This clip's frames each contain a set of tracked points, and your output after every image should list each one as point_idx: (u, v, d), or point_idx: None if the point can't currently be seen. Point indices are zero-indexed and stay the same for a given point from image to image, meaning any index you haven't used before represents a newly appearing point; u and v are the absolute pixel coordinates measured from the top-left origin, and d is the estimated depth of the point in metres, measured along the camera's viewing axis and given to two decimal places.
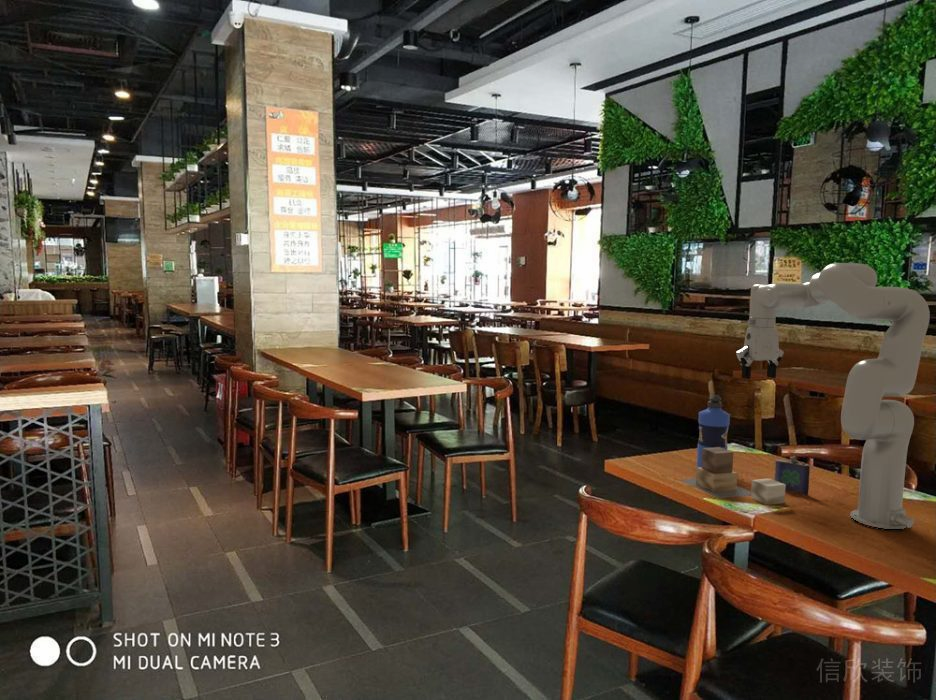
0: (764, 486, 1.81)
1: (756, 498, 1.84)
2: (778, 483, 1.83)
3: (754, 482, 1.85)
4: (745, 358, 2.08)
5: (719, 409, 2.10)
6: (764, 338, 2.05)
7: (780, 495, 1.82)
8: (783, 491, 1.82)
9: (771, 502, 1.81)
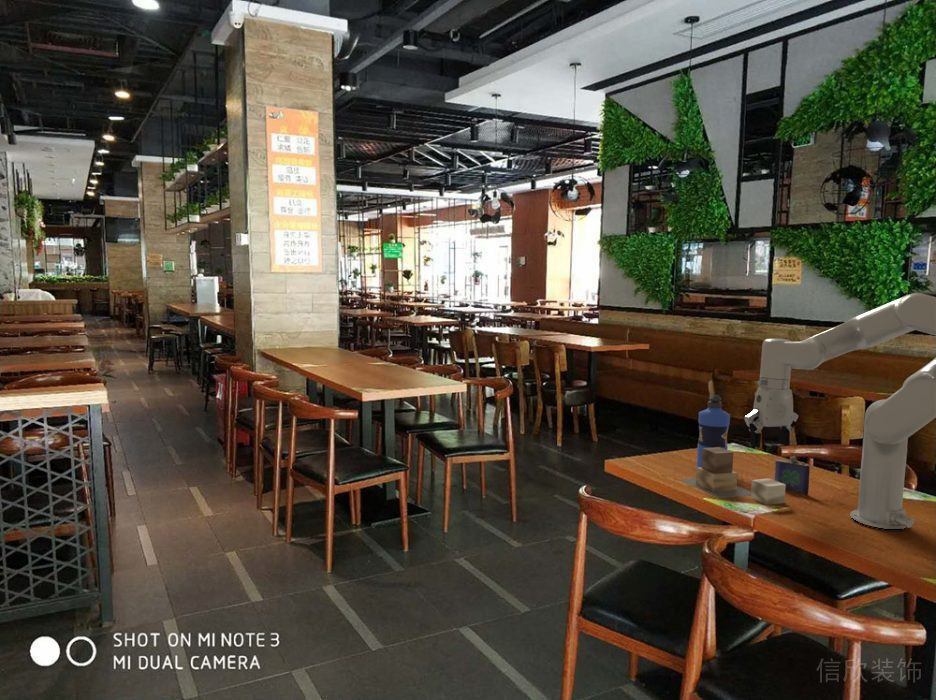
0: (764, 486, 1.81)
1: (756, 498, 1.84)
2: (778, 483, 1.83)
3: (754, 482, 1.85)
4: (754, 423, 1.81)
5: (719, 409, 2.10)
6: (777, 401, 1.78)
7: (780, 495, 1.82)
8: (783, 491, 1.82)
9: (771, 502, 1.81)
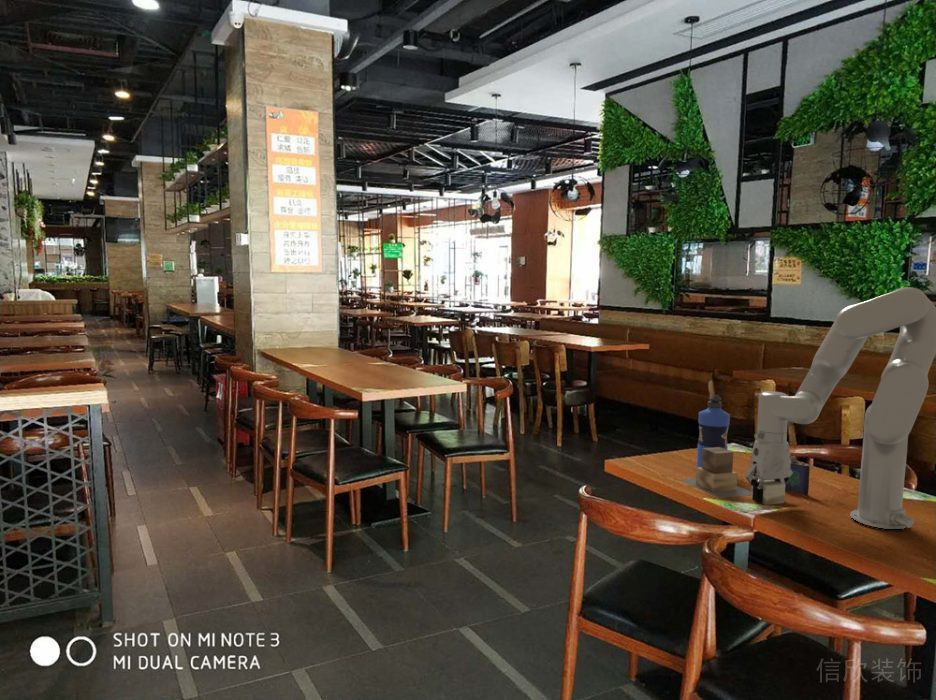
0: (764, 486, 1.81)
1: None
2: (778, 483, 1.83)
3: None
4: (755, 478, 1.83)
5: (719, 409, 2.10)
6: (774, 455, 1.80)
7: (780, 495, 1.82)
8: (783, 491, 1.82)
9: (770, 502, 1.81)
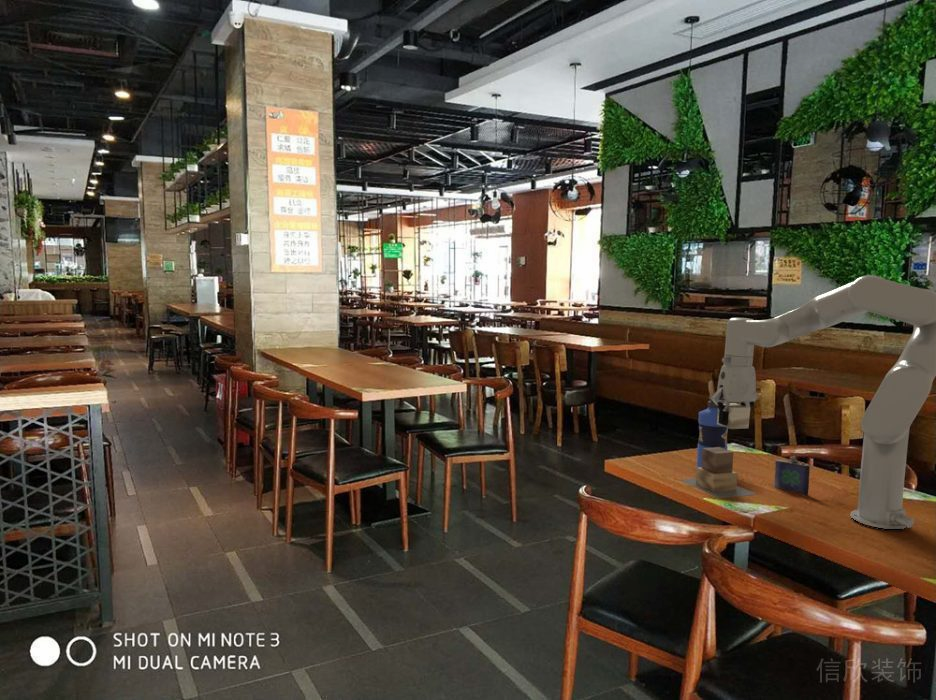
0: (729, 408, 1.87)
1: None
2: (743, 406, 1.89)
3: None
4: (721, 401, 1.89)
5: None
6: (740, 378, 1.86)
7: (745, 417, 1.88)
8: (748, 414, 1.88)
9: (735, 424, 1.87)
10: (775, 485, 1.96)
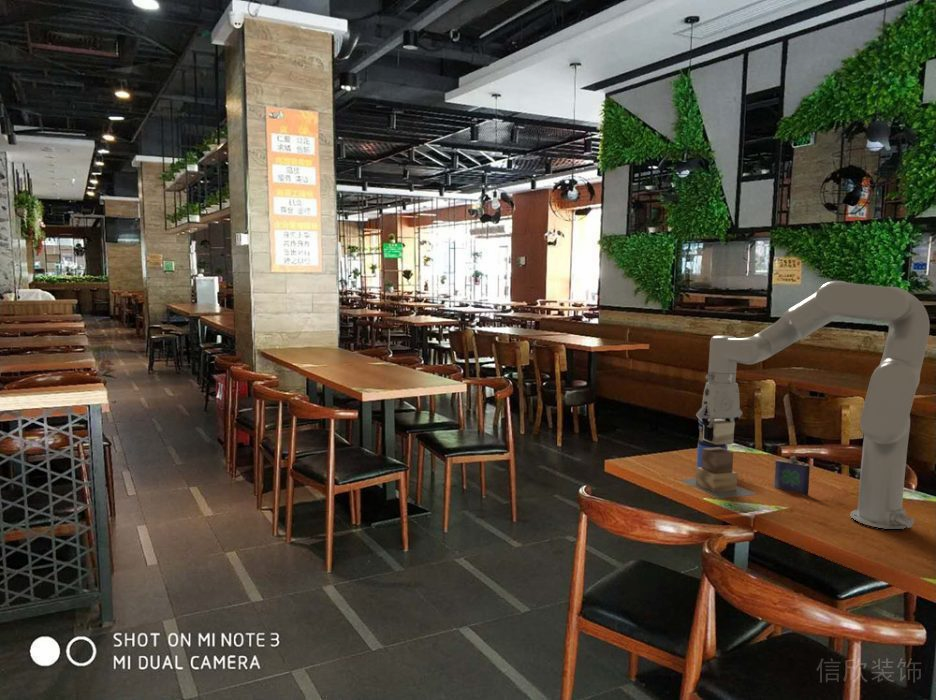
0: (714, 424, 1.91)
1: None
2: (728, 422, 1.93)
3: None
4: (706, 417, 1.93)
5: None
6: (723, 395, 1.90)
7: (729, 433, 1.92)
8: (732, 429, 1.92)
9: (720, 439, 1.91)
10: (775, 485, 1.96)
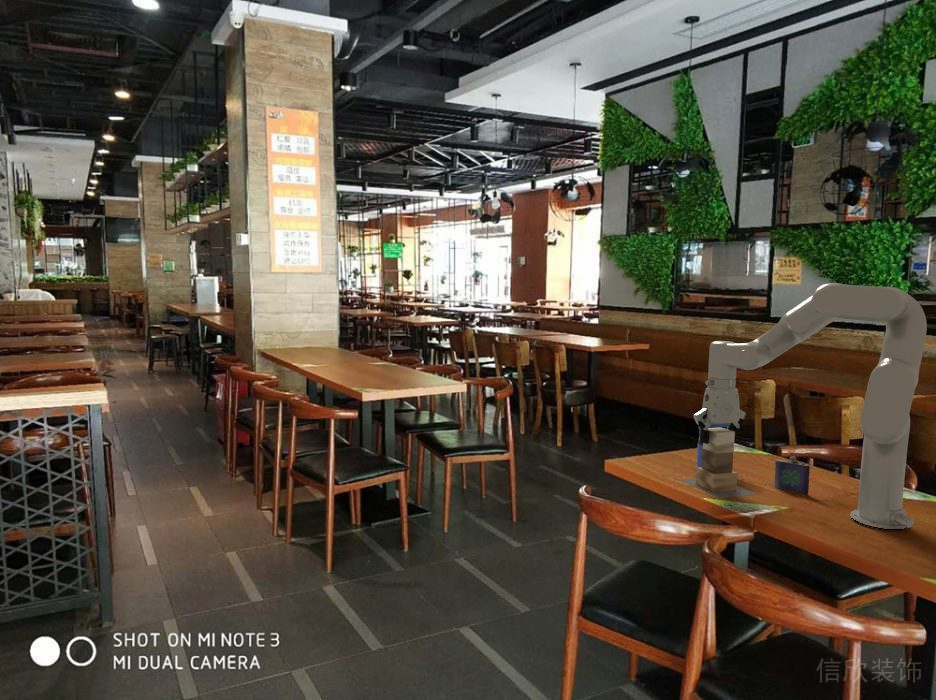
0: (714, 433, 1.91)
1: (707, 445, 1.94)
2: (728, 430, 1.93)
3: None
4: (703, 421, 1.93)
5: None
6: (723, 400, 1.90)
7: (729, 442, 1.92)
8: (732, 438, 1.92)
9: (721, 448, 1.91)
10: (775, 485, 1.96)
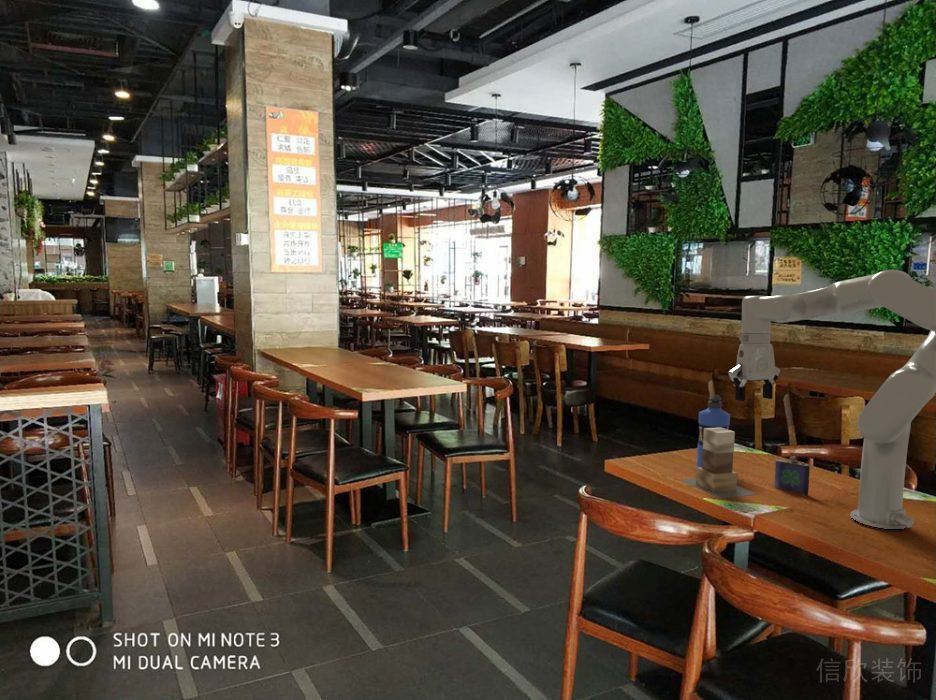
0: (714, 433, 1.91)
1: (707, 445, 1.94)
2: (728, 430, 1.93)
3: (706, 430, 1.95)
4: (738, 378, 1.88)
5: (719, 409, 2.10)
6: (758, 355, 1.85)
7: (729, 442, 1.92)
8: (732, 438, 1.92)
9: (721, 448, 1.91)
10: (775, 485, 1.96)
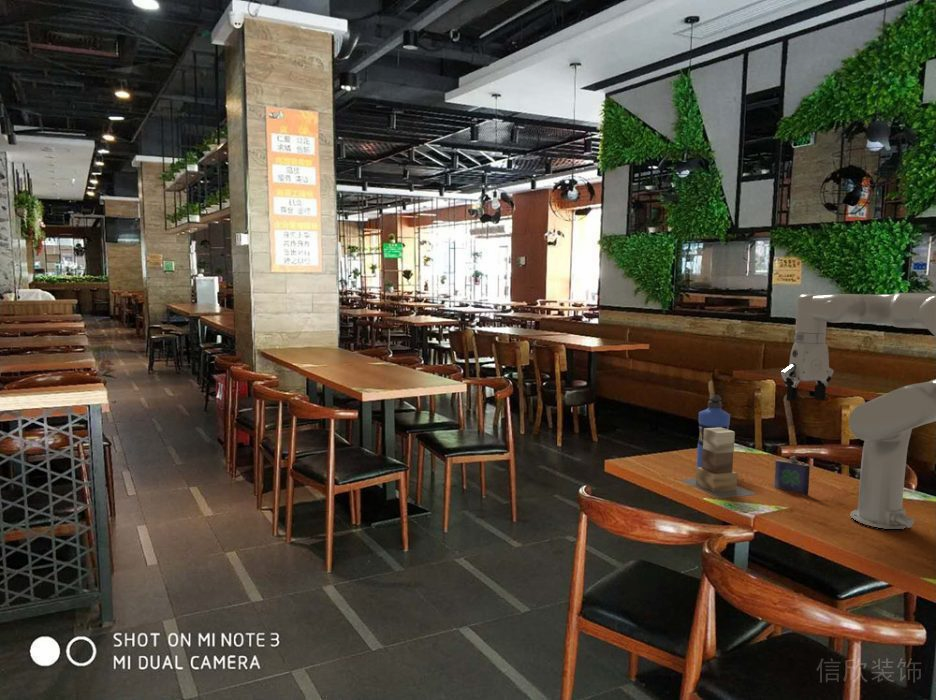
0: (714, 433, 1.91)
1: (707, 445, 1.94)
2: (728, 430, 1.93)
3: (706, 430, 1.95)
4: (791, 378, 1.83)
5: (719, 409, 2.10)
6: (813, 356, 1.80)
7: (729, 442, 1.92)
8: (732, 438, 1.92)
9: (721, 448, 1.91)
10: (775, 485, 1.96)
